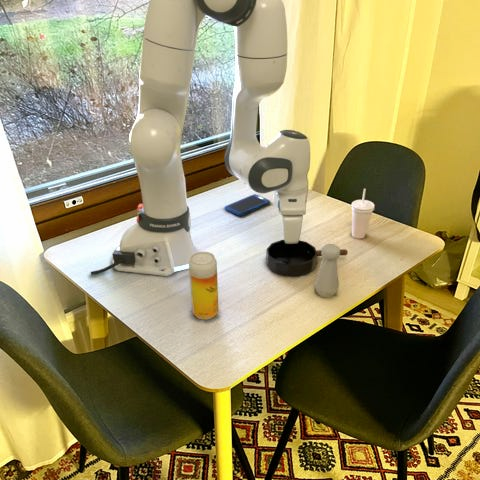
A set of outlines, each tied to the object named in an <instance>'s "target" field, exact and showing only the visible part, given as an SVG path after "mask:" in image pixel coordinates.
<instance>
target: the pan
mask: <svg viewBox="0 0 480 480" xmlns="http://www.w3.org/2000/svg"><path fill="white" fill-rule="evenodd" d="M265 250H266V251H265V260H266V267H267V268H268V270H270V271H271V272H272V273H274V274H276V275H279V276H282V277H287V278H295V277H296V278H297V277H298V278H299V277H303V276H306V275H308V274H310V273H312V272H313V271H314V270H315V268H316V266H317V262H318V257H323V256H322V255H321V251H322V249H318V250H317V249H316V247H315V246H313V245H312V244H311V243H309V242H308V241H304V240H301V239H299V242H298V243H297V244H286V243H285V241H284V239H280V240H277V241H274V242H271V243H270V245H269V246H268V247H267V248H266V249H265ZM348 253H349V251H348V249H342V248H340V256H341V257H343V256H348ZM340 256H339V257H340Z"/></svg>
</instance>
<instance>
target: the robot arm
mask: <svg viewBox="0 0 480 480" xmlns="http://www.w3.org/2000/svg"><path fill="white" fill-rule="evenodd" d="M205 18H208V19H210V20H212V21H215V22H218V23H222V24H225V25H228V26H231V27H233V30H234V39H235V78H234V80H235V81H234V84H233V88H232V89H233V91H232V101H231V102H232V103H231V120H230V121H231V122H230V135H229V140H228V144H227V146H226V149H225V152H224V165H225V167H226V170H227V172H229V174H230V175H232V176H233V177H235V178H237V179H239V180H240V182H242V183H243V184H244V185H246V186H247V187H248V188H250V189H251V190H252V191H254V192H256V193H258V194H268V193H271V192H273V195H272V197H273V198H272V201H273V203H274V204H275V205H276V207H277V209H278V212H279V215H280V220H281V226H282V227H281V228H282V234H283V240H284V241H285V243H286V244H297V243H298V242H299V240H301V233H302V227H303V221H304V216H305V215H306V213H307V203H308V196H309V195H308V193H309V179H308V174H309V172H310V168H311V167H310V166H311V144H310V139H309V137H308V136H307V135H305V134H304V133H302V132H300V131H297V130H293V129H283V130H280V131H278V133H277V135H276V137H274V139H272V140H271V141H270V142H269V143H268V144H266V145H264V146H262V145H261V144H260V142H259V140H258V138H257V125H258V114H259V105H260V103H261V101H262V100H263V99H265V98H267V97H270V96H272V95H274V94H275V93H276V92H278V91H279V90H280V88H281V87H282V86H283V84H284V82H285V78H286V74H287V70H288V68H287V67H288V45H289V43H288V26H287V15H286V9H285V4H284V2H283V0H149V1H148V6H147V11H146V16H145V21H144V26H143V36H142V43H141V54H140V64H139V73H138V75H139V76H138V79H139V89H138V90H139V93H138V95H139V96H138V111H137V116H136V119H135V120H134V123H133V126H132V127H131V130H130V132H129V149H130V154H131V156H132V159H133V163H134V166H135V171H136V173H137V176H138V177H137V178H138V180H139V181H138V182H139V185H140V193H141V200H142V203H139V204H138V205H137V208H136V218H135V219H136V223H134V224H133V225H131V226H130V227H129V228H127V229H126V230H125V232H123V234H122V236H121V239H120V242H119V246H117V248H116V249H115V250H113V252H112V259H111V261H112V263H111V264H109V265H108V266H105V267H103V268H100V269H98V270H93V271H90V276H94V275H100V274H102V273H105V272H107V271H109V270H112V269H114V270H115V271H118V272H126V273H136V274H144V275H154V276H163V277H169V276H171V275H173V274H174V273H176V272H179V271H182V270H187V269H189V260H190V257H191V256H192V255H193V254H194V253H197V250H196V249H195V245H194V242H193V239H192V234H191V227H192V226H191V212H190V208H189V205H188V199H187V186H186V185H187V183H186V177H185V173H184V167H183V162H182V153H181V152H182V151H181V143H182V137H183V132H184V128H185V121H186V116H187V115H186V114H187V109H188V100H189V95H190V94H189V93H190V87H191V81H192V75H193V74H192V73H193V68H194V62H195V55H196V50H197V49H196V48H197V42H198V36H199V31H200V27H201V24H202V23H203V21H204V20H205Z"/></svg>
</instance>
